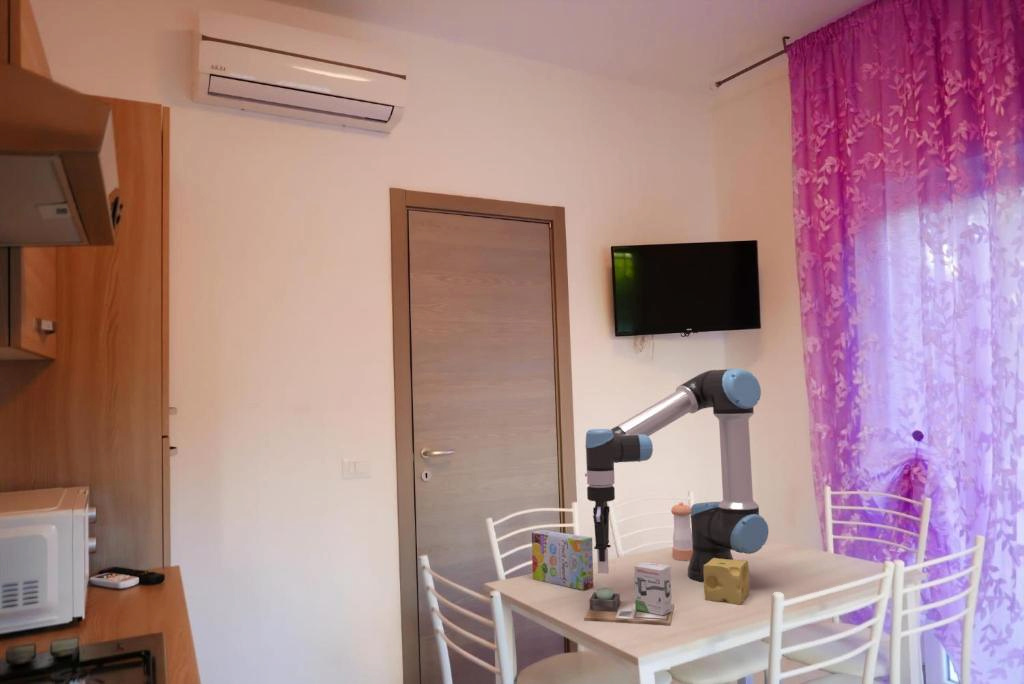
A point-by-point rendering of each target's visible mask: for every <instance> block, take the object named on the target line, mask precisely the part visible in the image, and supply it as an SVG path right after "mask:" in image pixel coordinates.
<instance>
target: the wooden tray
mask: <svg viewBox="0 0 1024 684" xmlns="http://www.w3.org/2000/svg"><path fill="white" fill-rule="evenodd" d="M620 594H621V593H614V592H613V600H604V599H597V592H593V593H592V595H591V596H590V598H589V601H588V603H589V608H588V610H587V612H586V613H585V615H584V617H583V620H584V621H590V622H591V621H593V622H608V623H622V624H623V623H627V624H639V625H640V624H642V625H656V626H657V625H658V626H659V625H660V626H671V624H672V618H673V613H674V607H675V604H674V603H671V612H669V613H667V614H665V615H659V614H654V613H649V612H644V611H639V610H636V606H635V601H621V595H620Z"/></svg>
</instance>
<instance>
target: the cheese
mask: <svg viewBox="0 0 1024 684" xmlns="http://www.w3.org/2000/svg"><path fill="white" fill-rule="evenodd" d="M703 573H704V582H703V591H704V598H705V601H711V602H727V603H728V604H734V605H738V606H739V605H742V603H743V601H745V600H746V599H747V598H748V597H749V592H750V569H749V561H748V560H747V559H746V560H744V559H734V560H728V559H718V558H713V559H711V560H710V561H709V562H708V563H706V564H705V565H704V569H703Z"/></svg>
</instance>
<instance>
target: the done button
mask: <svg viewBox="0 0 1024 684" xmlns="http://www.w3.org/2000/svg"><path fill="white" fill-rule="evenodd" d="M613 591H614V589H612V588H610V587H599V588H597V589H596V592H597V599H604V600H613V593H614V592H613Z"/></svg>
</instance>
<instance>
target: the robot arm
mask: <svg viewBox="0 0 1024 684" xmlns="http://www.w3.org/2000/svg"><path fill="white" fill-rule="evenodd" d="M761 390H762V389H761V386H760V383H759V380H758V378H756V376H755V375H754V374H753V373H752V372H750V371H749V370H746V369H740V368H729V369H712V370H707V371H704V372H701V373H699V374H697V375H696V376H694V377H692V378H690V379H689V380H687V381H686V382H684V383H681V384H680V385H678V386H676V389H675V392H673V393H671V394H670V395H668V396H665V397H664V398H663V399H661V400H659V401H658V402H655V403H654V404H652V405H650V406H649V407H647V408H645V409H644V410H642V411H639V413H637V414H635V415H633V416H632V417H629V418H628V419H626V420H625V421H623V422H621V423H620V424H617V426H615V427H612V428H611V429H610V428H592V429H588V430H587V431H586V434H585V452H586V454H585V456H586V458H585V459H586V462H585V463H586V473H584V476H585V477H586V484H587V485H588V486H587V487H586V493H587V495H586V496H587V497H586V498H587V500H588V501H590V502H595V503H594V507H593V509H592V510H593V511H592V514H593V516H592V518H593V524H594V525H593V526H594V539H595V545H594V546H593V547H594V548H593V549H594V550H596V552H597V553H596V554H597V574H604V575H605V574H606V575H608V574H609V569H610V568H609V548H611V544H610V539H609V538H610V534H609V531H610V530H609V529H610V528H609V527H610V526H609V524H610V523H609V522H610V506H609V505H608V502H612V501H614V500H615V498H616V494H615V487H614V484H615V482H616V481H615V463H617V464H619V463H634V462H638V463H641V462H644V461H648V460H650V459H651V458H652V456H653V452H654V450H653V449H654V448H653V442H652V439H651V438H650V436H651V435H653V434H655V433H657V432H658V431H660V430H661V429H664V428H665V427H667V426H668V425H670V424H672V423H673V422H675V421H677V420H678V419H680V418H682V417H683V416H685V415H688V414H695V413H696V412H698V411H701V410H703V409H708V408H712V409H713V410H712V413H713V415H714V417H715V418H717V420H718V425H719V426H718V427H719V444H720V445H719V446H720V463H721V465H720V466H721V484H722V485H721V486H722V487H721V488H722V501H709V502H708V501H706V502H698V503H694V504H692V505H691V507H690V508H691V514H690V528H691V533H692V547H693V551H692V555H691V559H690V560H689V563H688V566H687V577H688V578H689V579H691V580H694V581H698V582H703V583H704V573H703V569H704V565H705V564H706V563H708V562H709V561H710V560H711V559H713V558H718V559H728V560H735V559H734V557H733V555H732V552H731V551H734V552H737V553H739V554H748V555H750V554H754V553H757V552H758V551H760V550H762V548H763V546H765V544H766V542H767V540H768V537H769V525H768V523H767V521H766V520H765V518H764V517H763V516H762V515H760V507H759V506H760V505H759V504H758V503H757V502H755V500H754V494H753V493H754V492H753V491H754V490H753V476H752V475H753V474H752V457H751V440H750V437H751V436H750V422H749V421H750V418H751V417H752V416H753V415H754V407H755V406H757V404H758V403H759V401H760V400H761V395H762V391H761Z"/></svg>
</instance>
